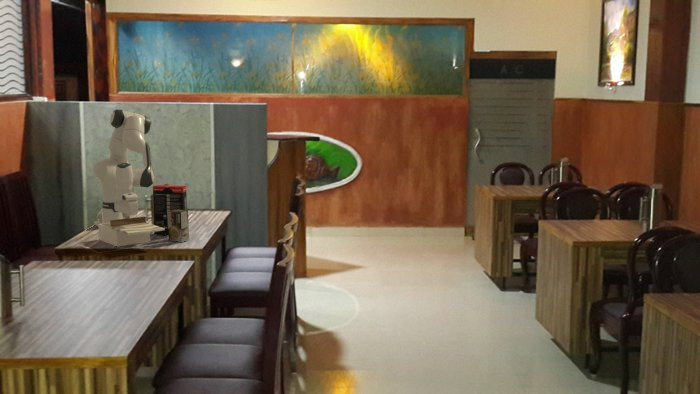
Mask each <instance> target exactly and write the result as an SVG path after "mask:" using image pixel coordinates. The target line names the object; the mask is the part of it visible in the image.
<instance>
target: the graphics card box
mask: <svg viewBox="0 0 700 394" xmlns="http://www.w3.org/2000/svg"><path fill="white" fill-rule="evenodd" d="M187 196H188V195H187V185H170V184H169V185H167V184H166V185H165V184H160V185H159V184H156V185H152V202H153V225H156V226H159V227H162V228H165V230H163V231H156V232H153V234H154V235H156V236H168V218H167V211H170V210H174V209H176V210H188V209H187V208H188V207H187V206H188V205H187V203H188V202H187V201H188V200H187Z"/></svg>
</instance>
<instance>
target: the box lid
mask: <svg viewBox="0 0 700 394" xmlns="http://www.w3.org/2000/svg"><path fill="white" fill-rule="evenodd" d="M110 228H111V229H114V230H117V231H120V232H122V233H125V234H128V235H134V234H141V233H148V232H150V233H154V232H156V231H163V230H165V228H162V227H159V226H156V225H154V224H152V223H150V222H147V217H146V216H144V215H143V216H136V217H129V218H127V219H118V220H110Z"/></svg>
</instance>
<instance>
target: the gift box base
mask: <svg viewBox="0 0 700 394" xmlns="http://www.w3.org/2000/svg"><path fill="white" fill-rule="evenodd" d="M97 227H98V240H99V241H101V242H105V243H107V244H108V245H111V246H115V247H116V246H117V247H122V246H124V247H125V246H132V245H139V244H145V243H151V232H148V233H141V234H134V235H128V234H125V233H122V232H120V231H117V230H114V229H111V228H110V223H104V224H98V226H97Z"/></svg>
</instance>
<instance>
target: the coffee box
mask: <svg viewBox="0 0 700 394" xmlns="http://www.w3.org/2000/svg"><path fill="white" fill-rule="evenodd" d="M167 218H168V240H169V241H178V242H177V243H185V242H184V241H186V242H189V241H190V231H189V224H190V223H189V210H188V209H187V210H176V209H174V210H170V211H167ZM188 240H189V241H188Z"/></svg>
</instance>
